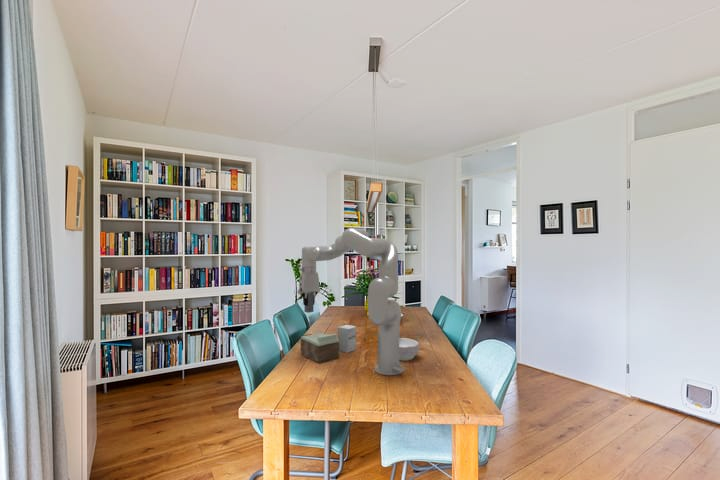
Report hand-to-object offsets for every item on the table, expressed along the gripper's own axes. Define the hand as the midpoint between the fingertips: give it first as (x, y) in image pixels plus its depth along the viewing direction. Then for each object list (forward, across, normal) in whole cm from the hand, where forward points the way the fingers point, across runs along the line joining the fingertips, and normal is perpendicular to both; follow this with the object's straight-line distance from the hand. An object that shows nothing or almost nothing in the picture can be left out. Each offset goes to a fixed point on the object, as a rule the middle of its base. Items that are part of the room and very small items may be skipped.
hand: (309, 304), depth 184 cm
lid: (+16, 0, -11) cm, 20 cm away
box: (+25, 0, -8) cm, 26 cm away
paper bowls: (+25, +32, -38) cm, 55 cm away
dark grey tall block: (+4, 0, 0) cm, 4 cm away
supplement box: (+25, +17, -11) cm, 32 cm away
